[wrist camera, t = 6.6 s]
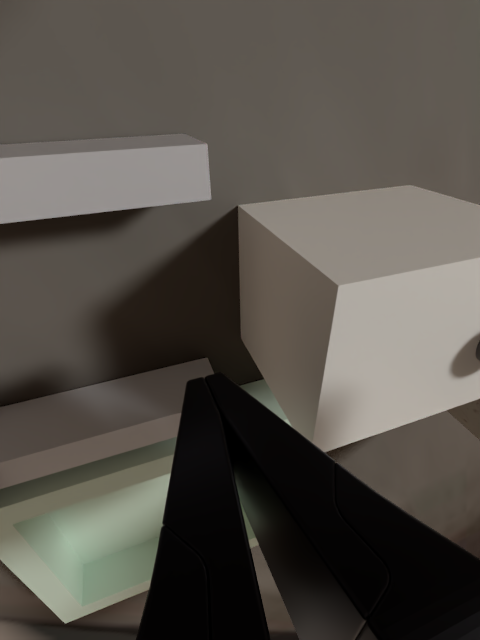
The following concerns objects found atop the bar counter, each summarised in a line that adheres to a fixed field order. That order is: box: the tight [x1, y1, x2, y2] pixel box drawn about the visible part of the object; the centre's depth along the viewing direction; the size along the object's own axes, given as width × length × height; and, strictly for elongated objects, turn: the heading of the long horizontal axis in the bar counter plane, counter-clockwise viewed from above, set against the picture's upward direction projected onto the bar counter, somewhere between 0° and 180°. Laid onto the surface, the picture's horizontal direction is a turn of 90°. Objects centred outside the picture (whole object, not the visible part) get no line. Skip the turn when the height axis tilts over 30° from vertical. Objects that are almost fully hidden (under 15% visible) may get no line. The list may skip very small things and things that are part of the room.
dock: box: [0, 134, 214, 489], centre depth 10 cm, size 9×9×3 cm
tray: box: [0, 379, 292, 624], centre depth 16 cm, size 12×11×2 cm
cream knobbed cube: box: [238, 185, 480, 452], centre depth 11 cm, size 7×6×7 cm
